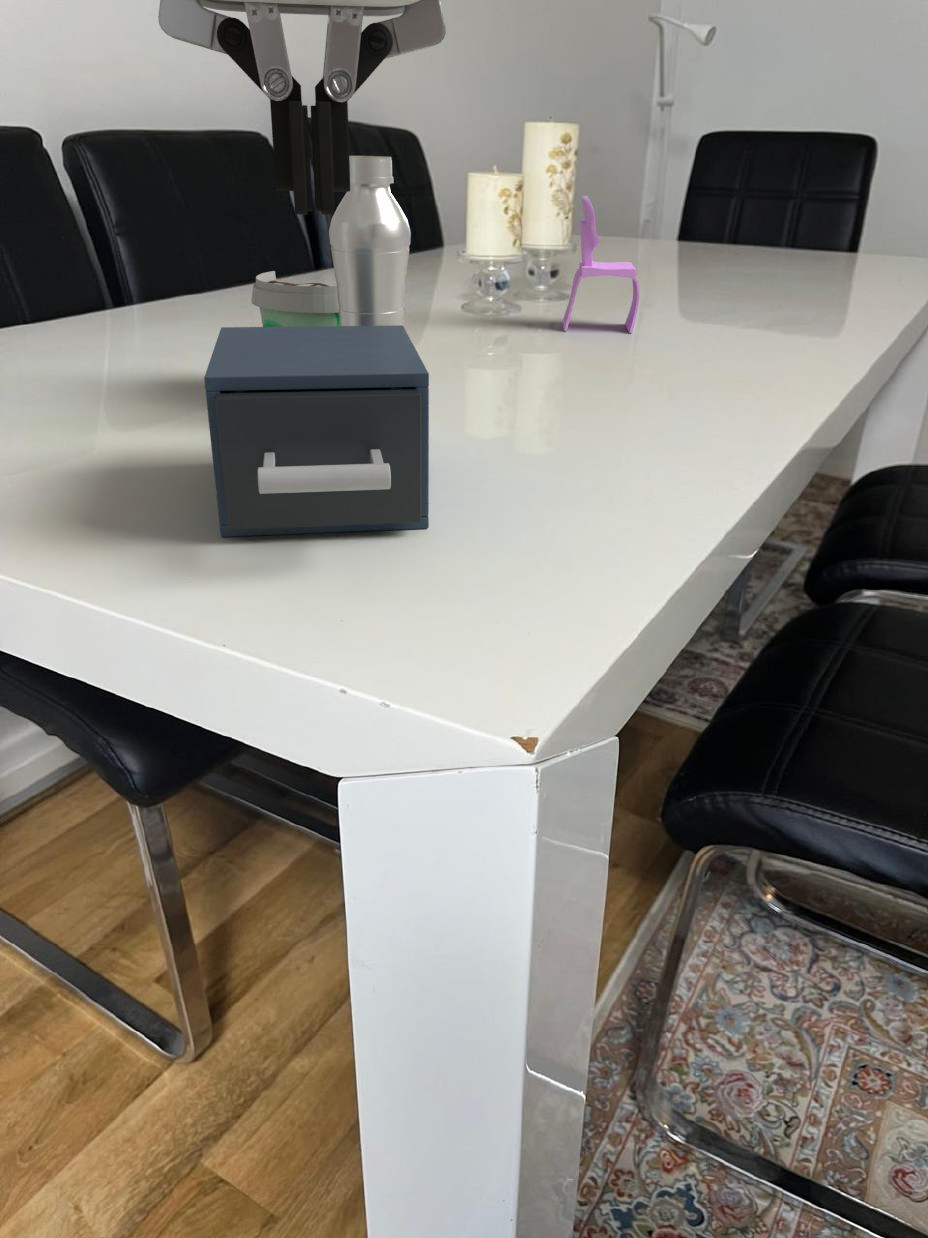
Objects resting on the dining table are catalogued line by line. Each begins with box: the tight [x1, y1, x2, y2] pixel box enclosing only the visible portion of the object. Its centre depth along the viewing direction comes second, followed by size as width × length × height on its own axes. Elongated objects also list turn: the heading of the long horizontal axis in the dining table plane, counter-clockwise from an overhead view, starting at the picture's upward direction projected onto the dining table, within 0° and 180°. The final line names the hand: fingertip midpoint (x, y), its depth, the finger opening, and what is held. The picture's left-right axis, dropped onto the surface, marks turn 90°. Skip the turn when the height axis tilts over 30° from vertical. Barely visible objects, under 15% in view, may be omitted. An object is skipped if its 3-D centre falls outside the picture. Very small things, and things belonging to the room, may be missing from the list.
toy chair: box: [562, 195, 640, 334], centre depth 116 cm, size 8×9×15 cm
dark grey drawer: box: [215, 387, 421, 530], centre depth 59 cm, size 18×11×8 cm, turn 9°
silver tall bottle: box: [328, 155, 412, 327], centre depth 77 cm, size 6×7×20 cm
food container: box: [251, 270, 339, 327], centre depth 85 cm, size 12×6×10 cm, turn 55°
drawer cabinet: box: [203, 325, 430, 538], centre depth 63 cm, size 15×13×10 cm
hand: (314, 210), depth 40 cm, fingers closed
